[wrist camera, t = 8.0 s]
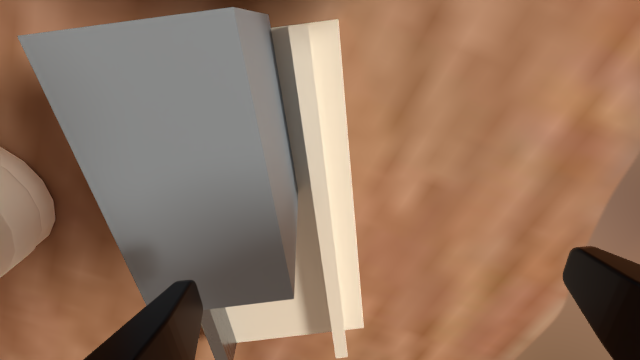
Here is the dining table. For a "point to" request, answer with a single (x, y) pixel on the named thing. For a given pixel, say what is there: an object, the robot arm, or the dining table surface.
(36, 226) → the bottle
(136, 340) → the robot arm
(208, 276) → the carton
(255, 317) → the shelf
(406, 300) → the dining table surface
